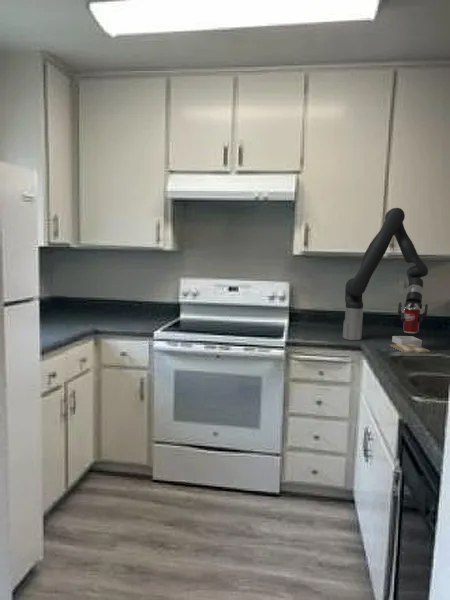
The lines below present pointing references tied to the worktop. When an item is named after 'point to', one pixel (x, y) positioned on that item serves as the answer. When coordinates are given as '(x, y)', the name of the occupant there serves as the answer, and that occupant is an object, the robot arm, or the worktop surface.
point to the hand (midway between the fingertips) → (411, 321)
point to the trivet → (409, 348)
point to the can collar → (406, 340)
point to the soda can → (411, 320)
